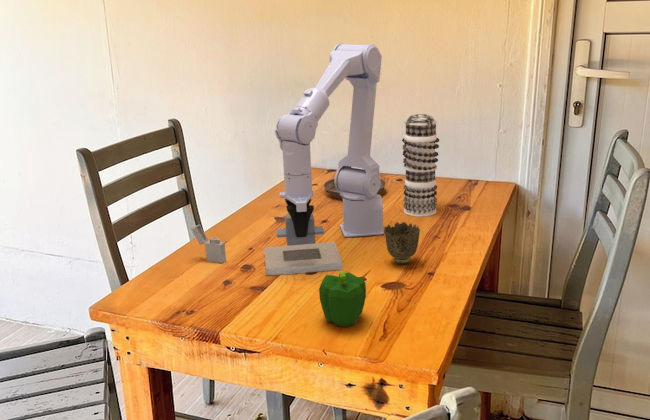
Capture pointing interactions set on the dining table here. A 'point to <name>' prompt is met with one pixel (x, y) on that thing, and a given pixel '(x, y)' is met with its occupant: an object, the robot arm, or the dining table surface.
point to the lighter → (210, 246)
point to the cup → (402, 241)
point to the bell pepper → (342, 298)
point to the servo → (291, 235)
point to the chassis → (302, 258)
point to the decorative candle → (420, 165)
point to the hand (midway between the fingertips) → (300, 233)
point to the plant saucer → (335, 193)
